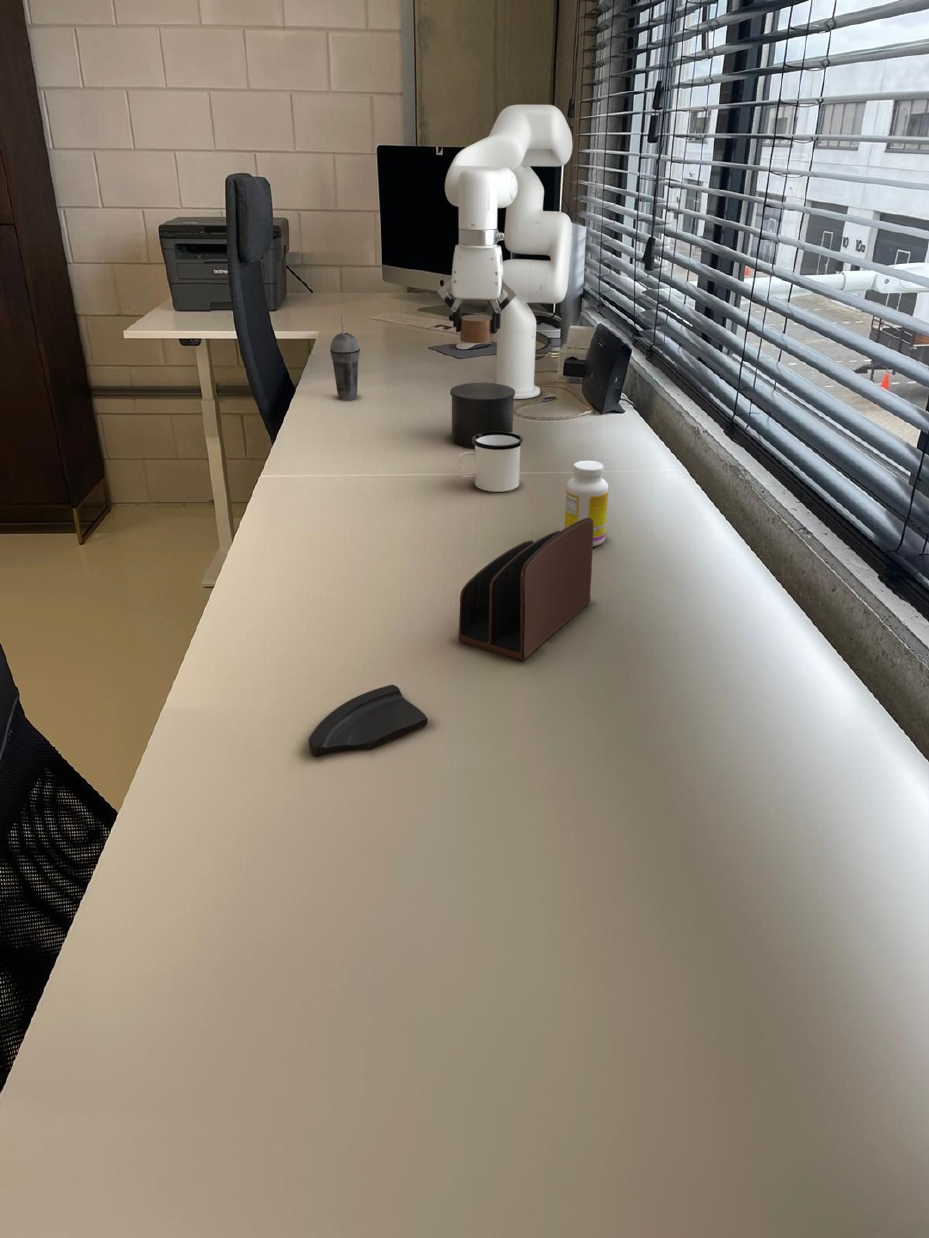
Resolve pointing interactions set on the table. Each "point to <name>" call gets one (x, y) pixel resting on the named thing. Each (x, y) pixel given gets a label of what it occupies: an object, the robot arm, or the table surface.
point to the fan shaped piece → (366, 722)
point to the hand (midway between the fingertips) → (476, 331)
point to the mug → (495, 461)
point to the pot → (480, 411)
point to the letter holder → (528, 592)
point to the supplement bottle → (588, 498)
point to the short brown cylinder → (476, 329)
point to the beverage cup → (345, 364)
